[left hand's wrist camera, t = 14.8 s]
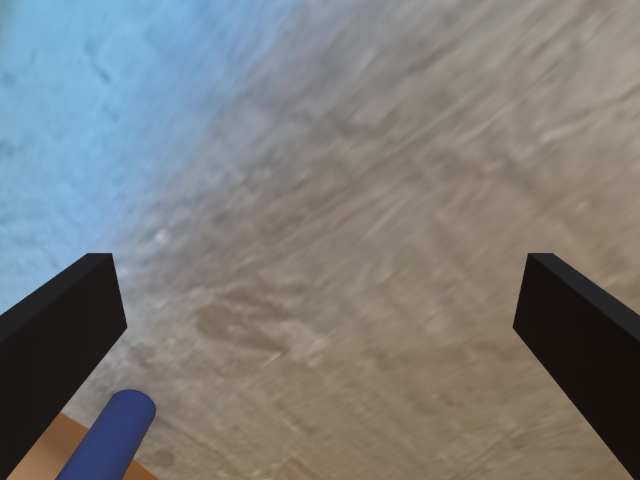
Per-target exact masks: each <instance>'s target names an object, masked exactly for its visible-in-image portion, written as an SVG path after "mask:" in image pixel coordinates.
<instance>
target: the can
mask: <svg viewBox="0 0 640 480" xmlns="http://www.w3.org/2000/svg"><path fill="white" fill-rule="evenodd" d="M155 413H156V409H155V405H154V403H153V402H152V400H151V399H150V398H149V397H148V396H146V395H145V394H143V393H141V392H138V391H135V390H123V391H120V392H118V393H116V394H115V395H113V396H112V398H111V399H110V401H109V402H108V404H107V405H106V406H105V408H104V409H103V411H102V412H101V414H100V415H99V417H98V418H97V419H96V421H95V422H94V424H93V425H92V427H91V428H90V430H89V431H88V433H87V434H86V435H85V437H84V438H83V440H82V441H81V443H80V444H79V446H78V447H77V448H76V450H75V451H74V453H73V454H72V456H71V457H70V459H69V460H68V462H67V463H66V464H65V466H64V467H63V469H62V470H61V472H60V473H59V475H58V476H57V477H56V479H55V480H122V478H123V476H124V474H125V473H126V471H127V469H128V467H129V465H130V463H131V461H132V459H133V457H134V455H135V453H136V451H137V449H138V447H139V445H140V444H141V442H142V440H143V438H144V436H145V434H146V432H147V430H148V428H149V426H150V424H151V422H152V420H153V418H154V416H155Z"/></svg>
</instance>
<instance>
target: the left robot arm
mask: <svg viewBox="0 0 640 480" xmlns="http://www.w3.org/2000/svg"><path fill="white" fill-rule="evenodd" d="M126 329H127V323H126V318H125V313H124V309H123V304H122V299H121V294H120V290H119V285H118V280H117V275H116V271H115V266H114V261H113V256H112V253H87V254H86V255H84V256H83V257H81V258H80V259H79V260H77V261H76V262H75V263H73V264H72V265H70V266H69V267H68V268H66V269H65V270H63V271H62V272H61V273H59V274H58V275H56V276H55V277H54V278H52V279H51V280H49V281H48V282H47V283H45V284H44V285H42V286H41V287H40V288H38V289H37V290H35V291H34V292H33V293H31V294H30V295H28V296H27V297H26V298H24V299H23V300H21V301H20V302H19V303H17V304H16V305H14V306H13V307H12V308H10V309H9V310H7V311H6V312H5V313H3V314H2V315H0V480H6V479H7V477H8V476H9V475H10V474H11V472H12V471H13V470H14V469H15V467H16V466H17V465H18V464H19V462H20V461H21V460H22V459H23V457H24V456H25V455H26V454H27V452H28V451H29V450H30V449H31V447H32V446H33V445H34V444H35V442H36V441H37V440H38V439H39V437H40V436H41V435H42V434H43V432H44V431H45V430H46V429H47V427H48V426H49V425H50V424H51V422H52V421H53V420H54V419H55V417H56V416H57V415H58V414H59V412H60V411H61V410H62V409H63V407H64V406H65V405H66V404H67V402H68V401H69V400H70V399H71V397H72V396H73V395H74V394H75V392H76V391H77V390H78V389H79V387H80V386H81V385H82V384H83V382H84V381H85V380H86V379H87V377H88V376H89V375H90V374H91V372H92V371H93V370H94V369H95V367H96V366H97V365H98V364H99V362H100V361H101V360H102V359H103V357H104V356H105V355H106V354H107V352H108V351H109V350H110V349H111V347H112V346H113V345H114V344H115V342H116V341H117V340H118V339H119V337H120V336H121V335H122V334H123V332H124V331H125V330H126ZM513 329H514V330H515V331H516V332H517V334H518V335H519V336H520V337H521V339H522V340H523V341H524V342H525V344H526V345H527V346H528V347H529V349H530V350H531V351H532V352H533V354H534V355H535V356H536V357H537V359H538V360H539V361H540V362H541V364H542V365H543V366H544V367H545V369H546V370H547V371H548V372H549V374H550V375H551V376H552V377H553V379H554V380H555V381H556V382H557V384H558V385H559V386H560V387H561V389H562V390H563V391H564V392H565V394H566V395H567V396H568V397H569V399H570V400H571V401H572V402H573V404H574V405H575V406H576V407H577V409H578V410H579V411H580V412H581V414H582V415H583V416H584V417H585V419H586V420H587V421H588V422H589V424H590V425H591V426H592V427H593V429H594V430H595V431H596V432H597V434H598V435H599V436H600V437H601V439H602V440H603V441H604V442H605V444H606V445H607V446H608V447H609V449H610V450H611V451H612V452H613V454H614V455H615V456H616V457H617V459H618V460H619V461H620V462H621V464H622V465H623V466H624V467H625V469H626V470H627V471H628V472H629V474H630V475H631V476H632V477H633V479H634V480H640V315H638V314H637V313H635V312H634V311H633V310H631V309H630V308H628V307H627V306H626V305H624V304H623V303H621V302H620V301H619V300H617V299H616V298H614V297H613V296H612V295H610V294H609V293H607V292H606V291H605V290H603V289H602V288H600V287H599V286H598V285H596V284H595V283H593V282H592V281H591V280H589V279H588V278H586V277H585V276H584V275H582V274H581V273H579V272H578V271H577V270H575V269H574V268H572V267H571V266H570V265H568V264H567V263H565V262H564V261H563V260H561V259H560V258H559V257H557V256H556V255H554V254H553V253H528V256H527V261H526V266H525V271H524V275H523V280H522V285H521V290H520V294H519V299H518V304H517V309H516V313H515V318H514V323H513Z"/></svg>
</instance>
